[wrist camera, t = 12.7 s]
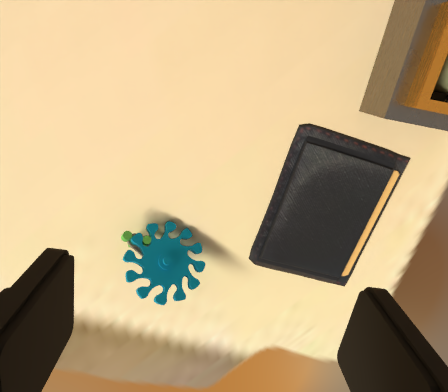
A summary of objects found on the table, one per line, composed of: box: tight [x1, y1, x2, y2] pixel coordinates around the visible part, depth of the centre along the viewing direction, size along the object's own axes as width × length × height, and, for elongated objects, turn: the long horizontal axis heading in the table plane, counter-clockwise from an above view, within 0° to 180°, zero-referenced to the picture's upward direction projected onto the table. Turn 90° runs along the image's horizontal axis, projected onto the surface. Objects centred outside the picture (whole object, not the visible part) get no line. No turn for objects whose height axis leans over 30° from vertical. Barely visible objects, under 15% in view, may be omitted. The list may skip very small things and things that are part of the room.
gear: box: [121, 221, 205, 305], centre depth 42 cm, size 11×6×10 cm
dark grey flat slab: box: [249, 124, 410, 286], centre depth 43 cm, size 20×2×15 cm
